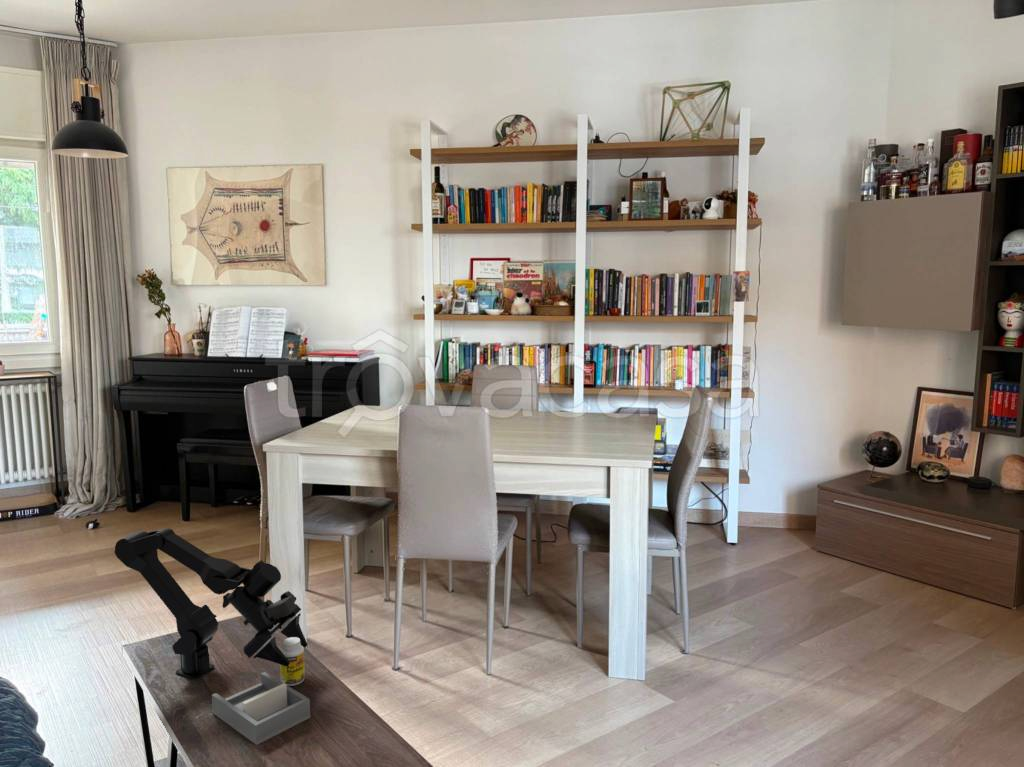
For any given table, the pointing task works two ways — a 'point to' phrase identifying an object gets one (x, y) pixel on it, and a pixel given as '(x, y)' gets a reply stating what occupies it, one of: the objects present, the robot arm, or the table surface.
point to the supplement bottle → (293, 662)
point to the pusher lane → (266, 726)
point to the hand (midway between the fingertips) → (297, 655)
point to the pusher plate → (266, 702)
